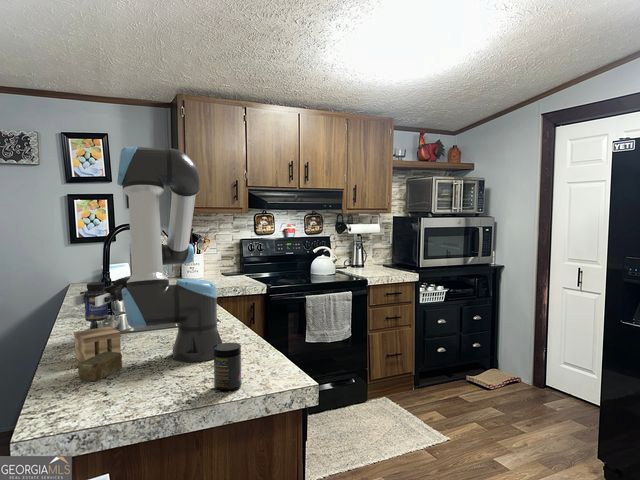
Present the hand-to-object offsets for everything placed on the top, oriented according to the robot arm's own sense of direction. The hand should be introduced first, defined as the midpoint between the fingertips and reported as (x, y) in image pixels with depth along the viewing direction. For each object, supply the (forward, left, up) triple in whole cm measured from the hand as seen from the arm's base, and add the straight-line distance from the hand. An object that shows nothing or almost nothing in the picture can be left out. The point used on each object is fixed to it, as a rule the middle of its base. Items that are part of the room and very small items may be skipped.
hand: (85, 301), depth 126 cm
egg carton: (+43, -21, -19) cm, 51 cm away
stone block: (-12, 0, -19) cm, 22 cm away
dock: (+3, -4, -18) cm, 19 cm away
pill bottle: (+3, -4, -7) cm, 8 cm away
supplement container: (-45, -19, -18) cm, 52 cm away
